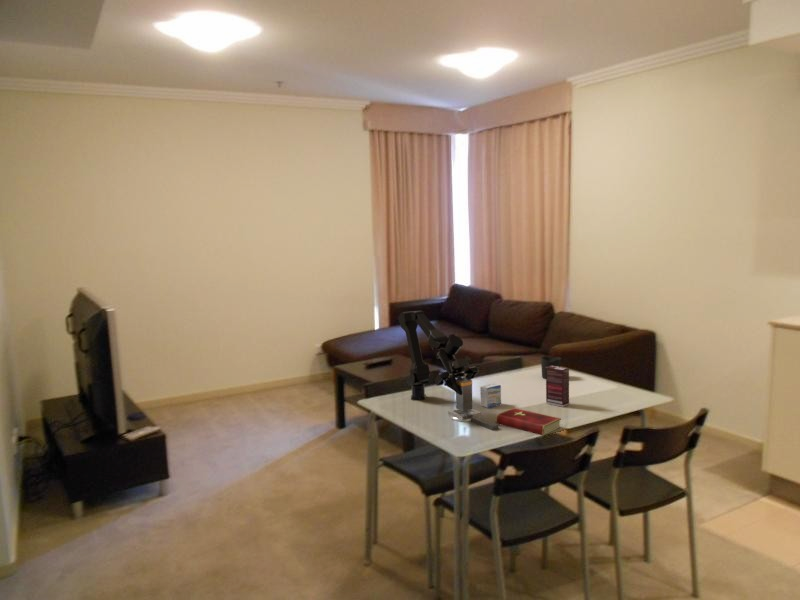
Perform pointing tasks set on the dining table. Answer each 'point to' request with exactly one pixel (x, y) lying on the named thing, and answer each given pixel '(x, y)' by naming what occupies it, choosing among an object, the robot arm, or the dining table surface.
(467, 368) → the robot arm
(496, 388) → the medicine box
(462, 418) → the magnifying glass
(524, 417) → the hardcover book
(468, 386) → the grey orange-banded block
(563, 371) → the supplement box
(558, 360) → the pen holder
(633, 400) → the dining table surface
